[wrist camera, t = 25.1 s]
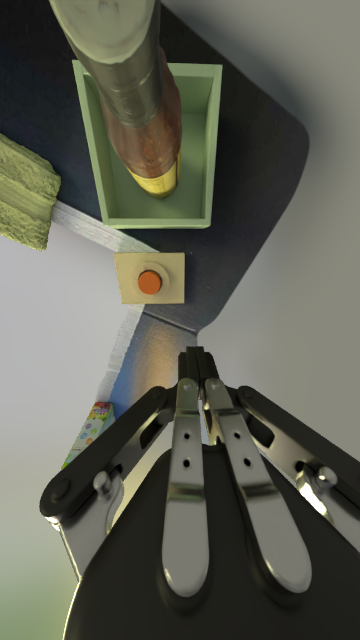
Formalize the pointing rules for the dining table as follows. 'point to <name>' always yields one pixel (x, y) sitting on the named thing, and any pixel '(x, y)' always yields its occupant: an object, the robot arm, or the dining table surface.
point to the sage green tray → (196, 156)
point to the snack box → (92, 428)
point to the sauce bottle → (130, 84)
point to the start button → (149, 282)
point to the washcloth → (26, 194)
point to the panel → (162, 264)
